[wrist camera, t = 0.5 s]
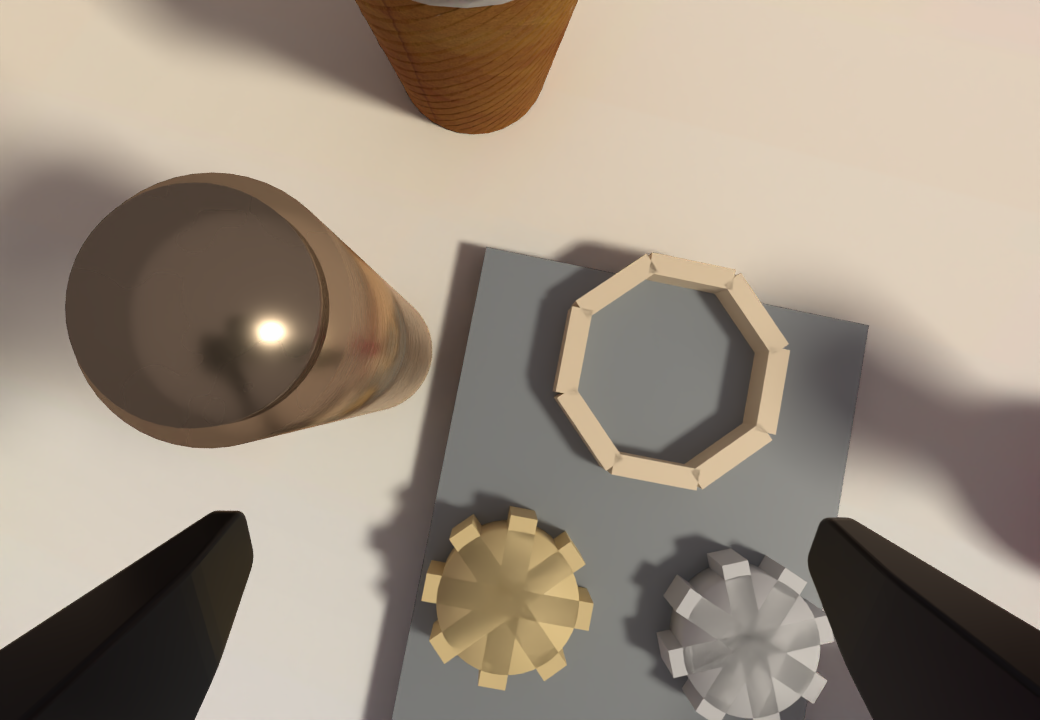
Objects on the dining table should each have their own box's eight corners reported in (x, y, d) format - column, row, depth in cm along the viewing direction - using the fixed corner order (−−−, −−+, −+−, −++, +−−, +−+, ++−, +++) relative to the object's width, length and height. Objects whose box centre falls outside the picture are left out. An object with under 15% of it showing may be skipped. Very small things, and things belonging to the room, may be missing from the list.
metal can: (361, 436, 23) (164, 513, 9) (285, 341, 23) (-22, 280, 9) (456, 360, 23) (402, 327, 10) (381, 267, 23) (220, 101, 10)
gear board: (763, 848, 23) (799, 911, 20) (380, 784, 22) (364, 840, 20) (852, 310, 24) (898, 301, 21) (490, 235, 23) (490, 216, 21)
